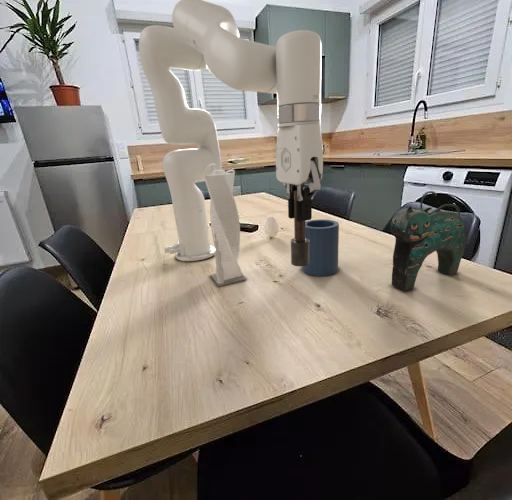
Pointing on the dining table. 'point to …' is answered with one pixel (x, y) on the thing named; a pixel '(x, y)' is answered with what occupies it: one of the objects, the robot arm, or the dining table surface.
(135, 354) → the dining table surface
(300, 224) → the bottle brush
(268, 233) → the egg
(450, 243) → the ceramic cat
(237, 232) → the skyscraper
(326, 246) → the blue pipe segment
